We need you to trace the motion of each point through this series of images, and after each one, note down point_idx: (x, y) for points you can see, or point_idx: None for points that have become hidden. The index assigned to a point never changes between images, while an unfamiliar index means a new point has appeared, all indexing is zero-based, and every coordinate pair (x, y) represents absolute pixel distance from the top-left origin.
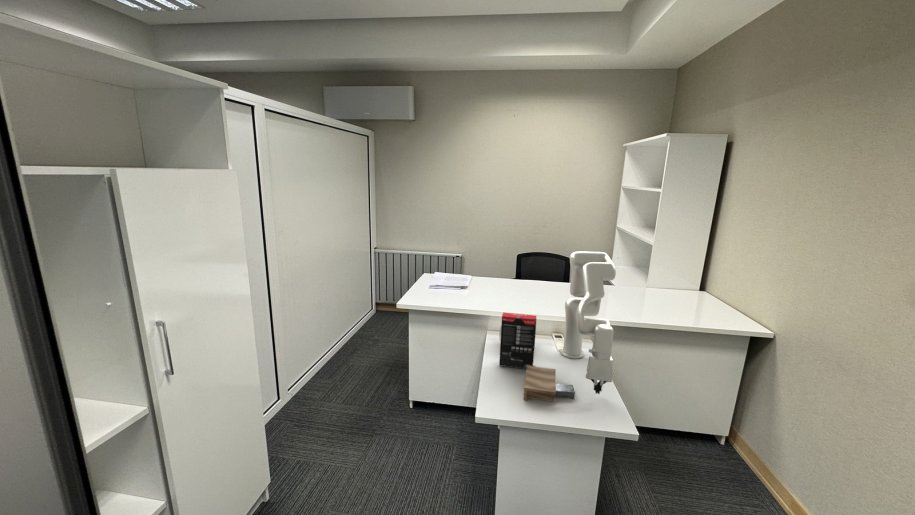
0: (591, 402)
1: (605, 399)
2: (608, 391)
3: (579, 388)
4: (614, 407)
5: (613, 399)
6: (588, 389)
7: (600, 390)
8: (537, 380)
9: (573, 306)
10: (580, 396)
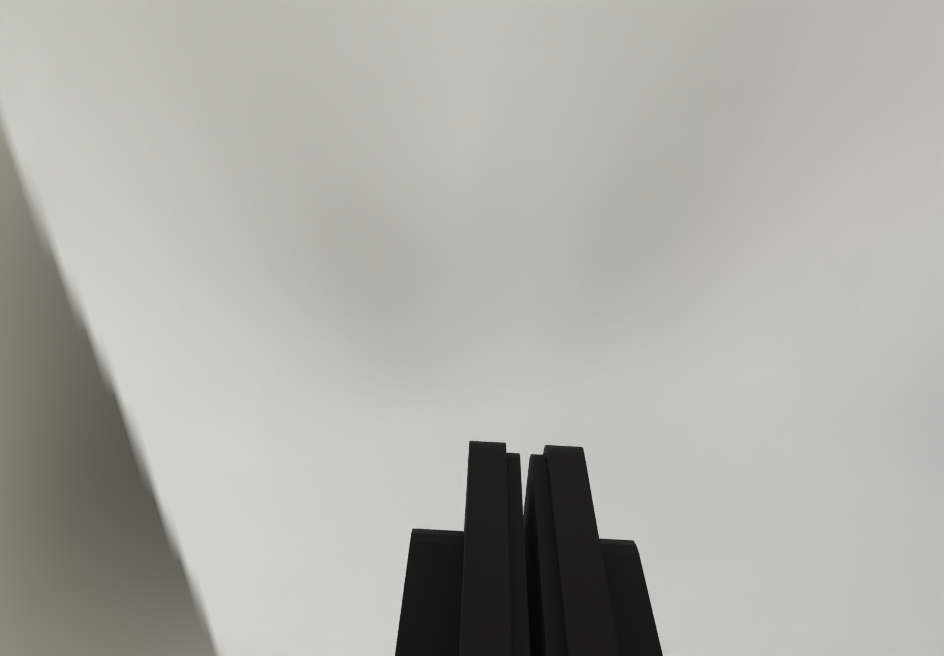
0: (709, 164)
1: (314, 371)
2: (239, 632)
3: (811, 630)
4: (83, 50)
5: (131, 406)
6: None
7: (437, 546)
8: None
9: None
10: (916, 374)
